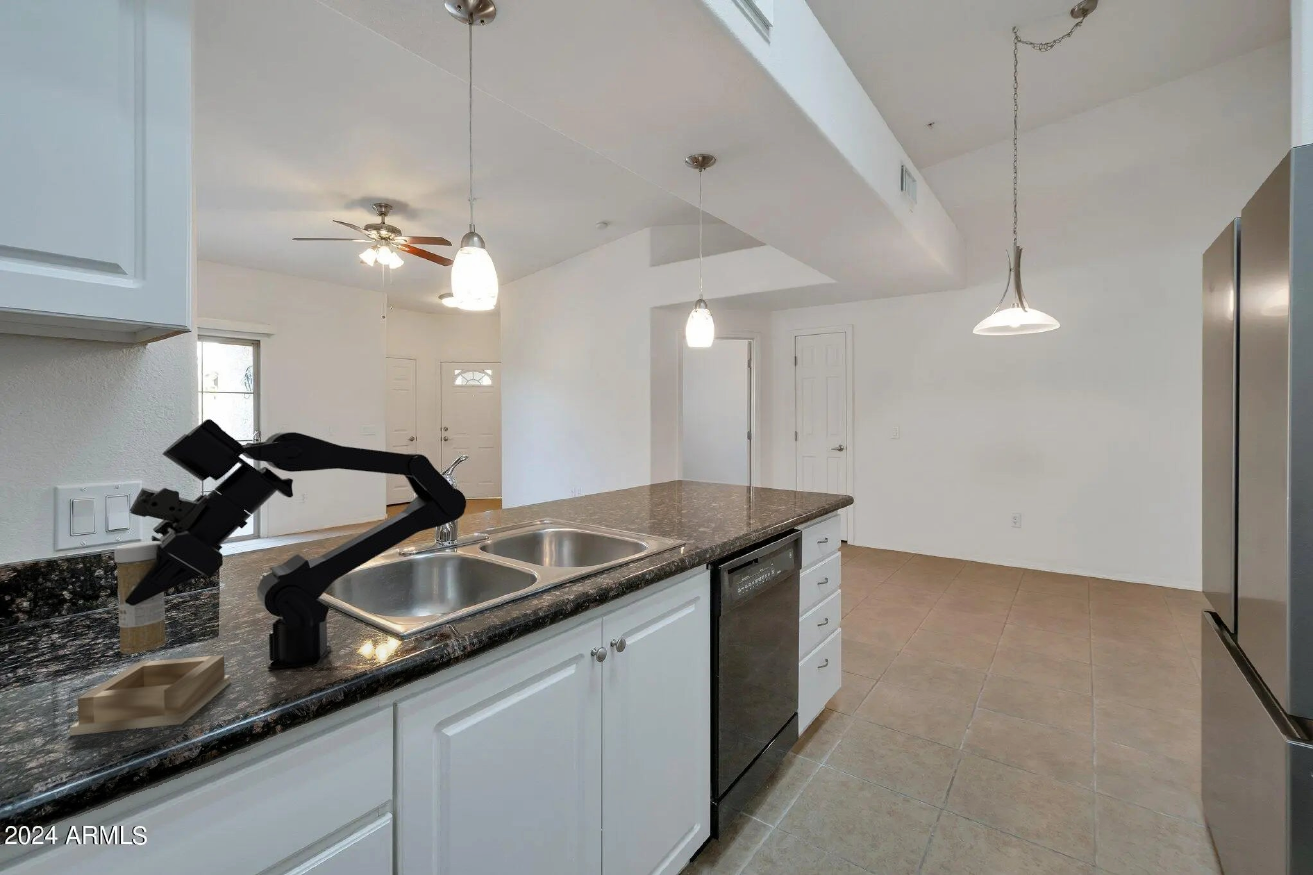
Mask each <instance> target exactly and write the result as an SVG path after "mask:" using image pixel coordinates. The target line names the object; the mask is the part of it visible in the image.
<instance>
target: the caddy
mask: <svg viewBox="0 0 1313 875" xmlns="http://www.w3.org/2000/svg"><path fill="white" fill-rule="evenodd" d="M230 683H232V674H226V675H225V654H220V655H209V656H207V655H206V656H198V657H197V656H196V657H187V658H173V659H172V658H171V659H162V660H148V661H137V662H136V663H134V664H132V665H131V666H130V667H127V668H126V669H124V670H123V671H121V672H119V673H117V674H115V676H113V677H111V678H110V679H108V680H106V681H104V682H103V683H101V684H99V685H97V686H96V687H94V688H92V689H91V690H90V691H88V692H85V694H83V695H82V696H79V697H78V698H77V716H78V718H77V720H78V721H77V722H75V723H74V724H72V725H70V727H69V736H70V737H71V736H79V735H80V736H81V735H89V734H90V733H91V734H100V733H107V732H108V733H110V732H116V731H117V732H118V731H127V729H129V730H137V729H146V728H148V729H149V728H155V727H165V726H174V725H182V724H184V723H185V722H187V720H189V719H190V718H191V717H192V716H193V715H194V714H196V713H197V712H198V711H199V710H201V708H202V707H204V706H205V705H206V704H207V703H208V702H209V701H210V700H212V699H213V698H214V697H215V696H216V695H217V694H219V693H220V692H221V691H222V690H223V689H225V688H226V687H227V686H228V685H229V684H230ZM136 728H137V729H136Z"/></svg>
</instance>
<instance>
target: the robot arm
mask: <svg viewBox="0 0 1313 875" xmlns="http://www.w3.org/2000/svg"><path fill="white" fill-rule="evenodd" d="M161 455H162V456H164V457H166V458H167V459H169V460H170V461H171V462H173V463H174V464H176V465H177V466H179V467H180V468H182V469H183V470H185V471H186V472H188V473H189V474H190V475H192V476H193V477H194V478H196V479H197V480H199V481H201V482H204V481H206V480H207V479H209V478H211V479H212V480H214V481H215V482H216V481H218V480H220V479H221V478H222V477H223V478H224V476H225V475H226V474H228V473H229V472H230V471H231V470H232V469H233V468H234V467H235V466H236V465H237V464H239V466H238V467H237V468H236V469H235V470H233V472H232V473H231V474H230V475H228V476H227V477H226V478H224V479H223V481H221V482H220V484H218V485H217V486H216V487H214V489H212V490H211V491H210V492H209V493H208V494H204V495H203V494H200V495H199V496H197V497H196V498H195V499H194V500H191V499H187V498H184V497H181V496H180V493H179V491H178V490H173V489H169V488H166V487H163V488H162V489H160V490H154V489H150V488H146V487H141V489H140V491H139V493H138V494H137V496H136V498H135V500H134V501H133V504H132V505H131V507H130V509H129V513H130V514H132V515H135V516H139V517H143V518H146V517H150V518H153V519H157V520H158V519H159V520H162V521H160V522H159V523H158V524H157V525H156V526H154V527H153V528H152V530H153V532H154V533H156V534H157V535H158V534H160V535H161V536H160V537H159V538H158V537H157V536H155V535H153V534H152V536H151V538H150V539H151V541H159V542H162V544H161V547H160V546H159V545H157V544H156V546H155V550H156V561H155V563H154V564H153V566H152V567H151V568H150V569H149V571H148V572H147V573H146V574H145V576H144V577H143V578H142V579H141V581H140V582H139V583H138V584H137V585H136V587H135V588H134V589H133V590H132V592H131V593H130V594H129V596H128V597H127V598H126V599H125V602H126V603H127V604H129V605H131V606H134V605H136V604H138V603H141V602H143V601H145V600H147V599H149V598H151V597H153V596H155V595H158V594H160V593H162V592H164V593H165V592H167V591H168V590H170V589H172V588H175V587H178V586H179V585H181V584H182V585H183V583H186V582H189V581H190V580H193V579H195V578H197V577H201V576H202V575H205V576H208V577H209V578H211V577H212V576H213V575H214V574H215V573H216V572H217V571H218V570H219V569H220V568H221V567H222V566H223V564H224V562H223V561H224V559H223V554H222V553H221V551H220V550H222V549H223V546H222V544H223V543H224V542H226V540H227V539H228V538H229V537H230V536H231V535H233V533H235V532H236V531H237V529H238V528H240V529H243V528H245V526H246V525H247V524H248V521H247V520H248V519H249V518H250V517H251V516H252V515H253V514H254V513H255V512H256V511H258V510H259V509H260V507H262V506H263V505H264V504H265V503H266V502H267V501H268V500H269V499H270V498H271V497H272V496H273V495H274V494H275V493H276V492H277V493H279V494H281V496H284V497H286V498H293V496H294V493H293V492H294V491H293V483H294V479H293V478H289V477H287V478H286V477H285V478H281V477H280V476H279V475H277V474H276V473H275V472H273V471H272V470H271V469H270V468H271V467H272V468H274V469H277V470H281V471H283V472H284V471H285V472H289V473H293V472H295V473H296V472H310V471H311V472H312V471H313V472H314V471H322V470H323V471H325V470H338V469H339V470H347V471H349V470H351V471H359V472H369V473H378V474H388V475H389V474H390V475H397V476H399V475H400V476H404V477H405V479H406V480H407V482H408V483H409V485H410V487H411V489H412V491H413V493H415V495H416V497H415V498H413V500H412V501H410V503H409V504H408V505H407V506H406V507H405V509H403V510H402V511H401V512H398V513H397V514H395V515H393V516H391V517H390V518H388V519H386V520H385V521H383V522H381V523H379V524H377V525H375V526H373V527H371V528H369V529H368V530H366V531H364V532H362V533H360V534H358V535H357V536H355V537H353V538H352V539H350V540H347V541H345V542H344V543H343V544H341V545H338V546H337V547H334V548H333V549H332V550H331V549H330V550H329V551H327V552H326V553H324V554H322V555H320V556H318V557H315V558H314V557H313V558H309V559H306V558H305V557H303V556H302V555H301V554H299V553H297V554H295V555H293V556H292V557H290V558H289V559H287V560H286V561H285V562H282V563H281V564H278V565H274V566H271V567H269V570H270V571H271V572H269V573H267V574H266V575H264V576H263V577H262V578H261V579H260V581H259V584H258V586H257V589H256V592H257V593H256V595H257V598H258V601H259V602H260V603H261V605H262V606H263V607H264V608H265V609H266V610H267V612H268V613H269V614H270V615H273V616H275V617H277V620H275V621H274V622H273V623H272V631H271V632H269V634H268V646H269V647H268V650H269V651H268V653H269V656H268V658H269V661H270V663H269V664H268V665H267V669H268V670H276V669H278V670H279V669H289V668H301V667H310V666H311V667H312V666H317V665H319V664H320V662H321V661H322V660H323V659H324V658H325V657H326V656H327V655H328V653H329V652H331V650H332V645H328V624H327V623H328V622H327V620H328V617H327V616H328V613H329V610H330V607H329V606H328V605H327V604H326V603H324V602H323V601H322V600H321V599H320V597H321V596H323V594H324V593H326V591H327V590H328V589H329V587H331V585H332V584H333V583H334V582H336V581H337V580H339V579H340V578H341V577H343V576H345V575H347V574H348V573H351V572H352V571H354V570H355V569H357V568H359V567H360V566H363V565H364V564H366V563H368V562H369V561H371V560H372V559H375V558H376V557H378V556H380V555H381V554H383V553H385V552H386V551H388V550H390V549H392V548H393V547H395V546H397V545H398V544H400V543H402V542H404V541H405V540H407V539H409V538H410V537H412V536H414V535H416V534H417V533H420V532H423V531H426V530H430V529H435V528H439V527H442V526H445V525H448V524H450V523H452V522H455V521H457V520H459V519H460V518H462V517H463V515H464V514H465V512H466V507H467V499H466V496H465V495H464V493H463V492H462V491H461V490H459V489H456V488H454V487H453V485H452V484H451V482H449V481H448V479H446V478H445V477H444V476H443V475H442V474H441V473H440V472H439V471H438V469H436V467H434V465H433V464H432V462H431V461H430V460H429V459H428V457H426V456H425V455H423V454H420V453H419V454H418V453H400V452H392V451H385V450H377V449H368V448H360V447H353V446H344V445H340V444H336V443H332V442H329V441H327V440H324V439H320V438H319V437H318V438H317V437H314V436H311V435H306V434H303V433H299V432H294V431H293V432H292V431H291V432H290V431H284V432H283V431H282V432H281V431H280V432H275V433H274V434H272V435H271V436H268V437H267V439H266V440H265V441H261V442H247V443H245V444H241V443H240V442H239V441H238V440H236V439H235V438H234V437H233V436H231V435H229V433H227V432H226V431H224V430H223V429H222V428H221V426H220V425H219V424H218V423H216V422H215V421H214V420H212V419H210V418H207V419H205V420H204V421H203V422H202V423H200V424H199V425H197V426H196V427H195V428H193V429H192V430H191V431H189V432H188V433H187V434H186V433H185V434H182V436H180V437H178V439H177V440H176V441H175V442H173V443H172V444H171V445H170V446H168V447H167V448H166V449H165V450H164V452H162V453H161ZM240 456H244V457H245V458H246V459H249V460H253V461H258V462H259V461H260V462H266V464H268V465H269V466H270V468H268V467H267V466H264V467H261V468H260V469H257V468H255V467H253V466H252V465H251V464H250V463H248V462H247V461H246V460H244V459H243V458H242V457H240ZM278 617H279V618H278Z"/></svg>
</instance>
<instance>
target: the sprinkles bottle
mask: <svg viewBox="0 0 1313 875" xmlns="http://www.w3.org/2000/svg"><path fill="white" fill-rule="evenodd" d="M156 544H157V545H159V546H160V547H161V544H162V542H159V541H152V540H150V541H140V542H139V541H138V542H130V543H126V544H121V545H118V546H115V547H114V551H113V553H114V562H115V564H116V567H117V568H116V569H117V572H116V573H117V604H118V605H117V608H118V625H119V635H120V637H119V638H120V647H119V652H120V653H122V654H125V655H126V654H127V655H129V654H138V653H142V652H146V651H151V650H154V649H156V648H160V647H162V646H164V645H165V644H166V643H167V637H166V630H165V629H166V627H165V619H166V613H165V612H166V611H165V608H166V607H165V591H164V592H162V593H160V594H158V595H155V596H153V597H151V598H149V599H147V600H145V601H143V602H141V603H138V604H136V605H134V606H131V605H129V604H127V603H126V602H125V599H126V598H127V597H128V596H129V594H130V593H131V592H132V590H133V589H134V588H135V587H136V585H137V584H138V583H139V582H140V581H141V579H142V578H143V577H144V576H145V574H146V573H147V572H148V571H149V569H150V568H151V567H152V566H153V564H154V563H155V561H156V550H155V546H156Z"/></svg>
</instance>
